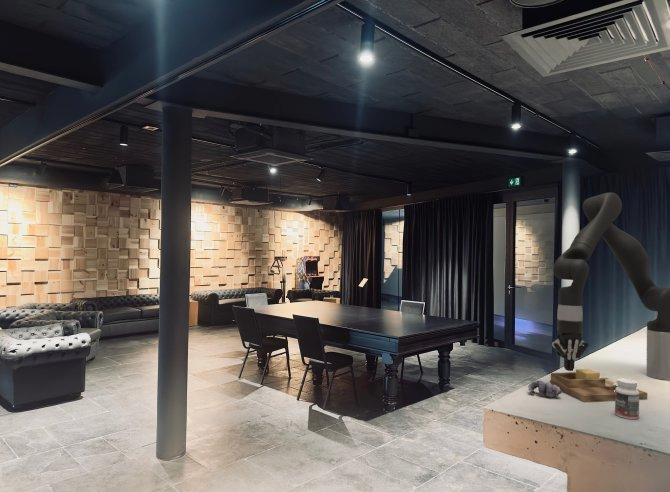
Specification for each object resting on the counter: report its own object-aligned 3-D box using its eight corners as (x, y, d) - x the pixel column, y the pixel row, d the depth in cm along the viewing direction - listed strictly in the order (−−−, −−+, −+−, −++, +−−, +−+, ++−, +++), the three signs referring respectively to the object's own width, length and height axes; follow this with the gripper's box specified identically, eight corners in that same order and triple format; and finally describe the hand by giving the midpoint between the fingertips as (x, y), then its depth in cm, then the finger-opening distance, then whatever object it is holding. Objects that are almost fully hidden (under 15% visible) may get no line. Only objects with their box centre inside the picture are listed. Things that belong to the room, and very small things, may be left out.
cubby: (586, 379, 158) (586, 371, 158) (605, 386, 149) (605, 379, 149) (550, 380, 156) (550, 373, 156) (568, 388, 147) (568, 380, 147)
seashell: (527, 397, 147) (561, 403, 143) (526, 387, 145) (561, 393, 140) (529, 384, 151) (562, 390, 146) (528, 374, 148) (562, 379, 143)
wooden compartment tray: (606, 383, 160) (606, 377, 160) (647, 399, 143) (647, 392, 143) (549, 385, 156) (549, 379, 156) (584, 402, 140) (584, 395, 140)
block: (588, 380, 156) (588, 369, 156) (599, 385, 151) (599, 372, 151) (575, 381, 155) (575, 369, 155) (585, 385, 150) (586, 373, 150)
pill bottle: (610, 412, 131) (610, 377, 131) (628, 412, 131) (629, 377, 132) (624, 419, 125) (624, 383, 125) (644, 419, 126) (644, 383, 126)
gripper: (580, 316, 157) (579, 367, 157) (544, 316, 155) (544, 367, 155) (595, 320, 150) (594, 373, 150) (559, 320, 148) (558, 373, 147)
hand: (568, 370), depth 152 cm, fingers closed
